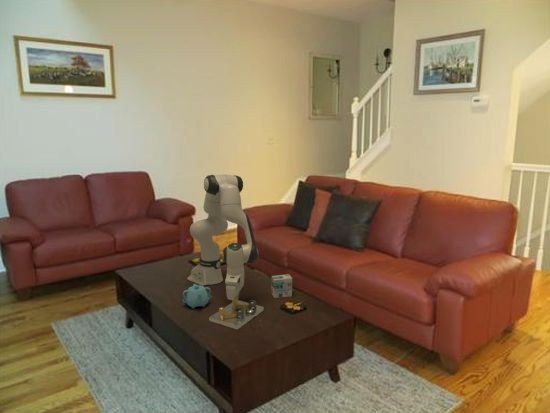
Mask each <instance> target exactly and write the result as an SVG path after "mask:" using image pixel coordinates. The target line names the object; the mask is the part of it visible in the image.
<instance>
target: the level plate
mask: <svg viewBox="0 0 550 413" xmlns="http://www.w3.org/2000/svg"><path fill="white" fill-rule="evenodd" d="M237 304H248V302H246V301H242V300H239V299H238V300H237ZM264 308H265V306H261V305H258V304H256V308H254V309H250V308H242V309H244V316H243V317H241V318H238V317H232V318H226V319H223V320H220V319H219V310H218V311H216V312H215V313H214V314H212V315H210V316H209V318H208V321H209V322H210V323H211V322H212V323H215V324H218V325H221V326H224V327H228V328H230V329H234V330H237V331H238V330H240V328H242V327H243V326H244V325H246V324H247V323H249V322H250V321H251V320H252V319H254V318H256V317H257V316H259V314H261V313H262V312H264ZM237 309H238V308H237ZM230 313H236V309H233V308H232V302H231V303H229V304H228V305H226V306H225V307H224V314H230Z"/></svg>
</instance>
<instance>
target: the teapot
mask: <svg viewBox="0 0 550 413" xmlns="http://www.w3.org/2000/svg"><path fill="white" fill-rule="evenodd" d="M207 290H208V291H207ZM211 292H212V291H211V288H210V287H209V286H206V287H205V285H199V284H197V283H193V284H192V286H189V287H188V288H187V289H185V290H184V291H182V295H183V296H182V297H183V298H182V302H183V303H186V304H187V306H189V307H190V308H191V310H192V309H193V310H194V309H196V308H197V307H202V308H205V307H206V305H207V304H208V303H209V300H210V299H211V298H212V295H211ZM185 293H186V294H185Z"/></svg>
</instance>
